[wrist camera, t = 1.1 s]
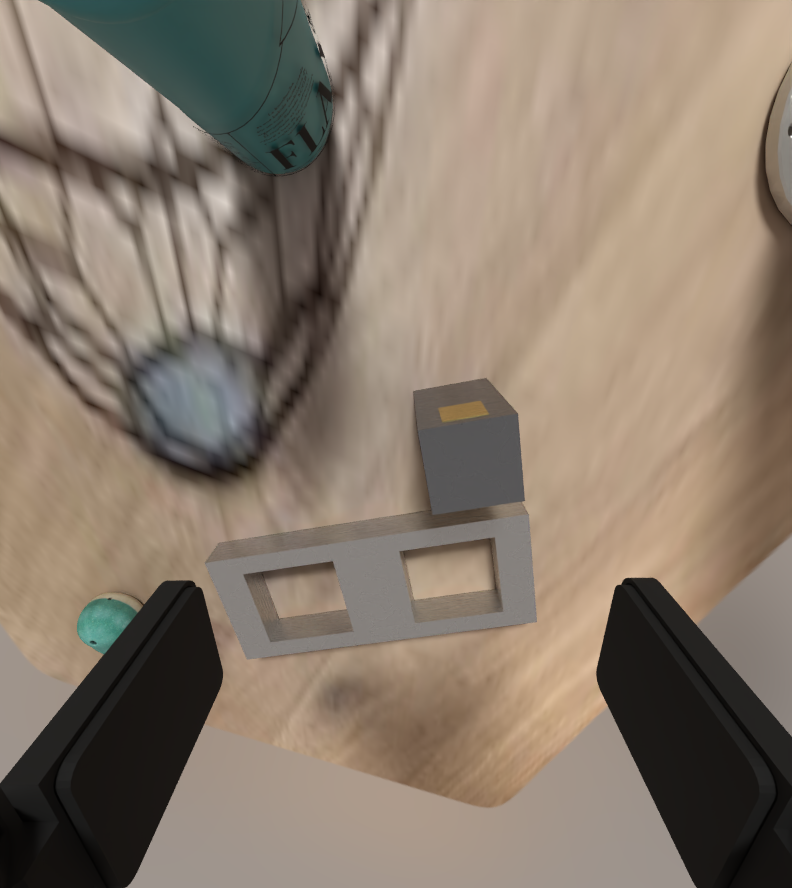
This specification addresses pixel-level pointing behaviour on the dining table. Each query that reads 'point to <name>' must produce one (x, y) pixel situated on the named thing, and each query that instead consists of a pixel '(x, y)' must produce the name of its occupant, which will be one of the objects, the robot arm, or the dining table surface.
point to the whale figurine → (106, 619)
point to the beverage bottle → (224, 69)
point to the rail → (375, 580)
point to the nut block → (469, 446)
